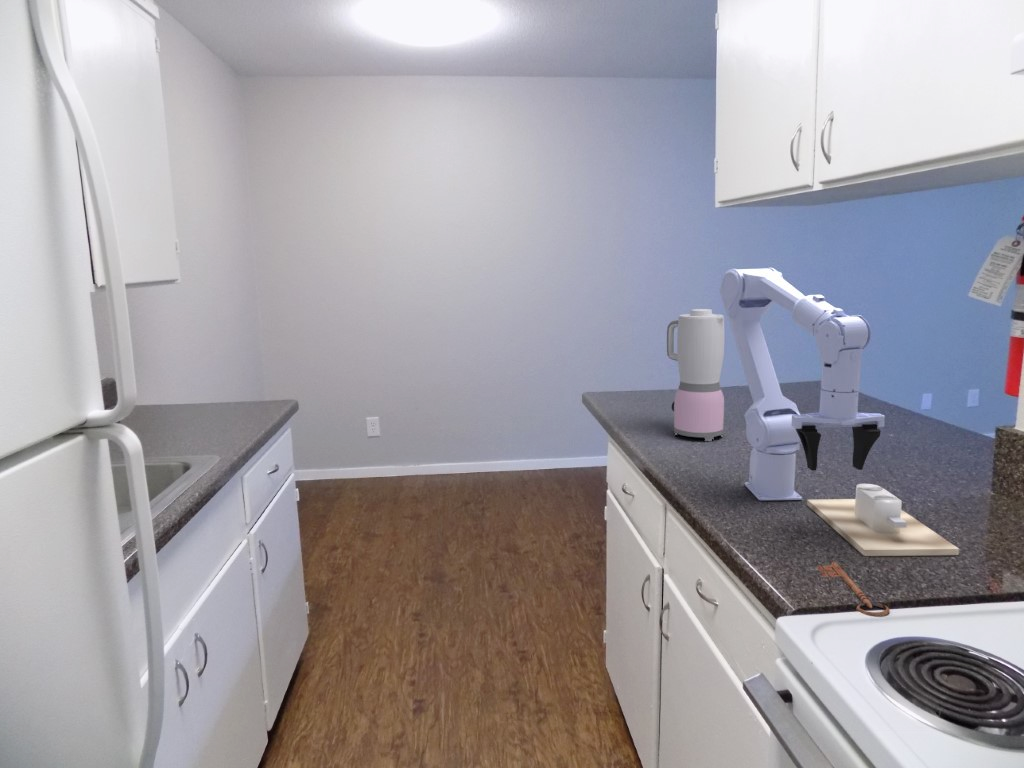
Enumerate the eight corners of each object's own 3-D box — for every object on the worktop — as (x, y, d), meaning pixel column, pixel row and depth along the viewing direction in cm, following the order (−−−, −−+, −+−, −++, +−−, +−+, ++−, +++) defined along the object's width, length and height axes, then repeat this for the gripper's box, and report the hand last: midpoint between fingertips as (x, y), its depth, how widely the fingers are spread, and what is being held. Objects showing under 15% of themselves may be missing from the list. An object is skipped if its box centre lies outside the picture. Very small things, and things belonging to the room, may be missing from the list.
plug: (850, 511, 119) (852, 483, 119) (873, 511, 119) (875, 483, 118) (886, 540, 107) (888, 509, 106) (912, 539, 107) (915, 509, 106)
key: (807, 568, 102) (846, 620, 88) (807, 562, 102) (846, 613, 87) (848, 566, 102) (894, 617, 87) (847, 560, 101) (894, 611, 87)
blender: (732, 435, 175) (737, 309, 169) (708, 445, 166) (712, 312, 161) (678, 425, 186) (680, 306, 180) (653, 434, 178) (654, 310, 172)
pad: (806, 504, 126) (807, 499, 126) (884, 503, 125) (885, 498, 125) (864, 556, 104) (864, 549, 104) (958, 555, 104) (959, 548, 104)
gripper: (804, 395, 110) (800, 476, 112) (896, 393, 110) (890, 475, 112) (788, 386, 117) (784, 463, 119) (875, 385, 116) (869, 462, 119)
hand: (834, 468), depth 116 cm, fingers open, 7 cm apart
